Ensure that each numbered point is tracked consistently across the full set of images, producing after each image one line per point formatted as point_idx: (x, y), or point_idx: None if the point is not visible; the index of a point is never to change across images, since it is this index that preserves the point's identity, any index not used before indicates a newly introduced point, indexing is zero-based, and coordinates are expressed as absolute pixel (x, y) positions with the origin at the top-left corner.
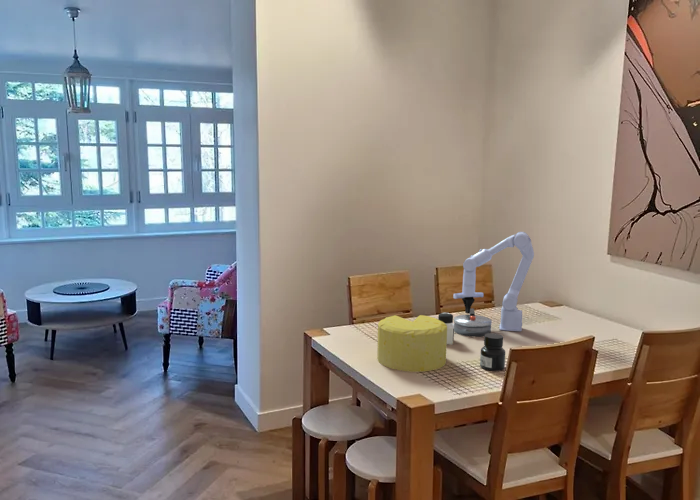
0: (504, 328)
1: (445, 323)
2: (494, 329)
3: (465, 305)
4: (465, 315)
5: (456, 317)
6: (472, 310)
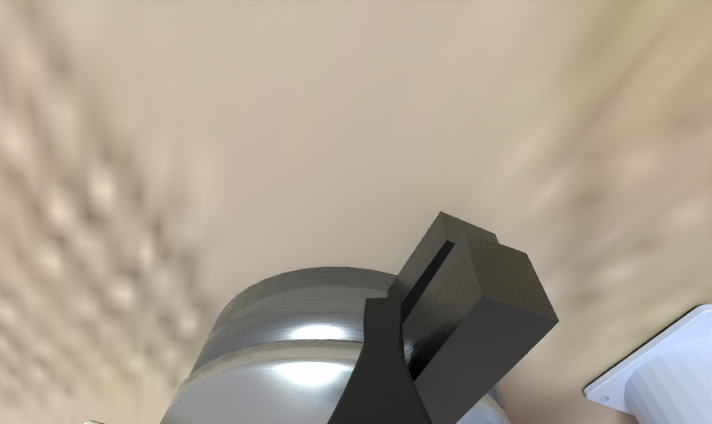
0: (628, 402)
1: None
2: (556, 365)
3: (354, 409)
4: (313, 388)
5: (188, 417)
6: (451, 394)
